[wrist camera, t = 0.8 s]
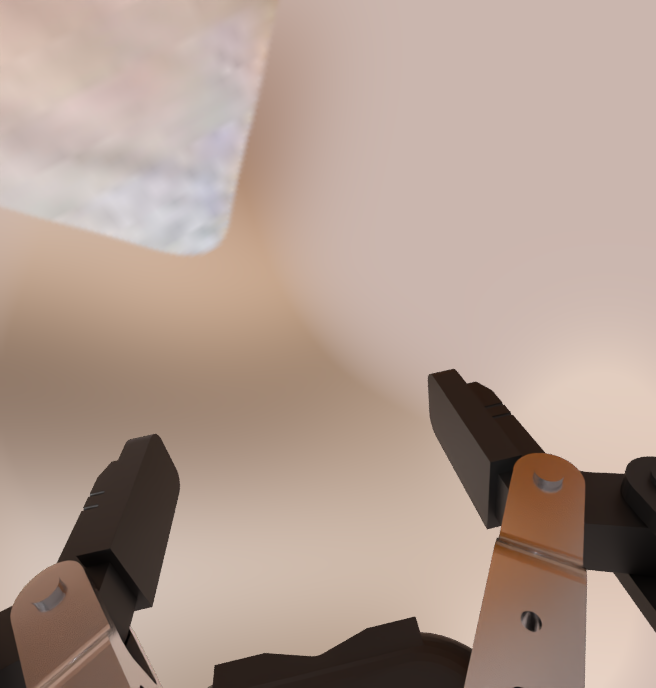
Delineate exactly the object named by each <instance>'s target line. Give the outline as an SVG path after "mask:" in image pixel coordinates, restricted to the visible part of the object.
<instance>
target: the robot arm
mask: <svg viewBox="0 0 656 688" xmlns="http://www.w3.org/2000/svg"><path fill="white" fill-rule="evenodd" d="M428 391H429V392H428V393H429V412H430V420H431V424H432V427H433V430H434V433H435V435H436V437H437V439H438V440H439V442H440V444H441V446H442V448H443V450H444V452H445V453H446V455H447V457H448V459H449V461H450V463H451V464H452V466H453V468H454V470H455V472H456V473H457V475H458V477H459V479H460V481H461V483H462V484H463V486H464V488H465V490H466V492H467V494H468V495H469V497H470V499H471V501H472V503H473V505H474V506H475V508H476V510H477V512H478V514H479V515H480V517H481V519H482V521H483V523H484V525H485V526H486V528H487V529H490V528H494V527H498V526H501V530H500V535H499V538H497V539H496V542H495V546H494V550H493V555H492V560H491V564H490V569H489V574H488V579H487V583H486V588H485V593H484V597H483V601H482V607H481V611H480V615H479V621H478V625H477V629H476V634H475V639H474V643H473V648H472V649H471V648H470V647H468V646H466V645H464V644H462V643H460V642H458V641H456V640H453V639H451V638H448V637H445V636H442V635H437V634H432V633H423V632H420V630H419V627H418V624H417V621H416V617H411V618H407V619H404V620H399V621H395V622H391V623H387V624H383V625H379V626H375V627H370V628H366V629H365V630H363V631H362V632H360V633H358V634H356V635H354V636H353V637H351V638H349V639H348V640H346V641H344V642H342V643H341V644H339V645H337V646H335V647H334V648H332V649H330V650H328V651H327V652H325V653H323V654H321V655H319V656H312V657H311V656H298V655H284V654H269V653H263V654H260V655H255V656H251V657H247V658H243V659H239V660H235V661H230V662H226V663H222V664H218V665H215V667H214V668H215V669H214V678H213V685H211V686H209V687H208V688H584V687H585V646H586V643H585V642H586V602H587V599H586V598H587V571H586V570H595V571H605V572H613V573H614V574H615V575H616V577H617V578H618V580H619V581H620V582H621V584H622V585H623V587H624V588H625V590H626V591H627V592H628V594H629V595H630V597H631V598H632V599H633V601H634V602H635V604H636V605H637V607H638V608H639V609H640V611H641V612H642V614H643V615H644V617H645V618H646V619H647V621H648V622H649V624H650V625H651V626H652V628H653V629H654V631H655V632H656V457H640V458H637V459H634V460H632V461H631V462H630V463H629V464H628V465H627V467H626V471H625V474H616V473H592V472H583V471H579V470H578V469H577V468H576V467H575V466H574V465H573V464H571V463H570V462H569V461H567V460H565V459H563V458H561V457H558V456H555V455H552V454H547V453H545V452H544V451H543V450H542V449H541V447H540V446H539V445H538V444H537V443H536V441H535V440H534V439H533V438H532V437H531V436H530V434H529V433H528V432H527V431H526V430H525V429H524V427H523V426H522V425H521V424H520V423H519V421H518V420H517V419H516V418H515V417H514V416H513V415H511V413H510V411H509V410H508V409H507V407H506V406H505V405H503V404H502V402H501V400H500V399H499V398H498V397H497V396H496V395H495V393H494V392H493V391H492V390H490V389H489V388H487V387H485V386H483V385H481V384H480V383H478V382H472V383H468V384H467V383H466V382H465V381H464V380H463V378H462V377H461V376H460V374H458V372H457V371H456V370H455V369H451V370H446V371H442V372H437V373H433V374H429V376H428ZM179 490H180V481H179V475H178V472H177V470H176V467H175V466H174V463H173V462H172V460H171V458H170V456H169V454H168V452H167V450H166V448H165V446H164V444H163V442H162V440H161V438H160V437H159V436H158V435H157V434H153V435H148V436H143V437H139V438H134V439H130V440H128V441H127V442H126V444H125V446H124V449H123V450H122V453H121V455H120V457H119V459H118V460H117V461H113V462H111V463H110V464H109V465H108V467H107V468H106V469H105V470H104V471H103V472H102V473H101V474H100V475H99V477H98V478H97V480H96V482H95V484H94V486H93V488H92V491H91V493H90V497H88V499H87V501H86V503H85V505H84V507H83V508H84V511H81V514H80V516H79V518H78V520H77V522H76V524H75V526H74V528H73V530H72V532H71V534H70V537H69V539H68V541H67V543H66V545H65V547H64V549H63V551H62V553H61V555H60V557H59V560H58V562H57V563H56V564H54V565H52V566H50V567H48V568H46V569H45V570H43V571H42V572H40V573H39V574H38V575H36V576H35V577H34V578H33V579H32V580H31V581H30V582H29V583H28V584H27V585H26V586H25V587H24V588H23V589H22V591H21V592H20V593H19V595H18V597H17V598H16V600H15V602H14V604H13V606H11V607H9V608H7V609H5V610H3V611H1V612H0V688H163V687H162V685H161V683H160V681H159V679H158V677H157V675H156V673H155V671H154V669H153V667H152V665H151V663H150V661H149V659H148V657H147V655H146V654H145V651H144V650H143V648H142V646H141V644H140V642H139V640H138V638H137V636H136V634H135V632H134V630H133V629H132V627H131V626H130V624H131V621H132V617H133V613H134V611H137V610H141V609H145V608H149V607H152V606H153V602H154V597H155V593H156V589H157V585H158V581H159V576H160V572H161V568H162V563H163V559H164V555H165V551H166V547H167V542H168V538H169V534H170V529H171V525H172V521H173V517H174V513H175V508H176V504H177V500H178V495H179Z"/></svg>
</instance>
